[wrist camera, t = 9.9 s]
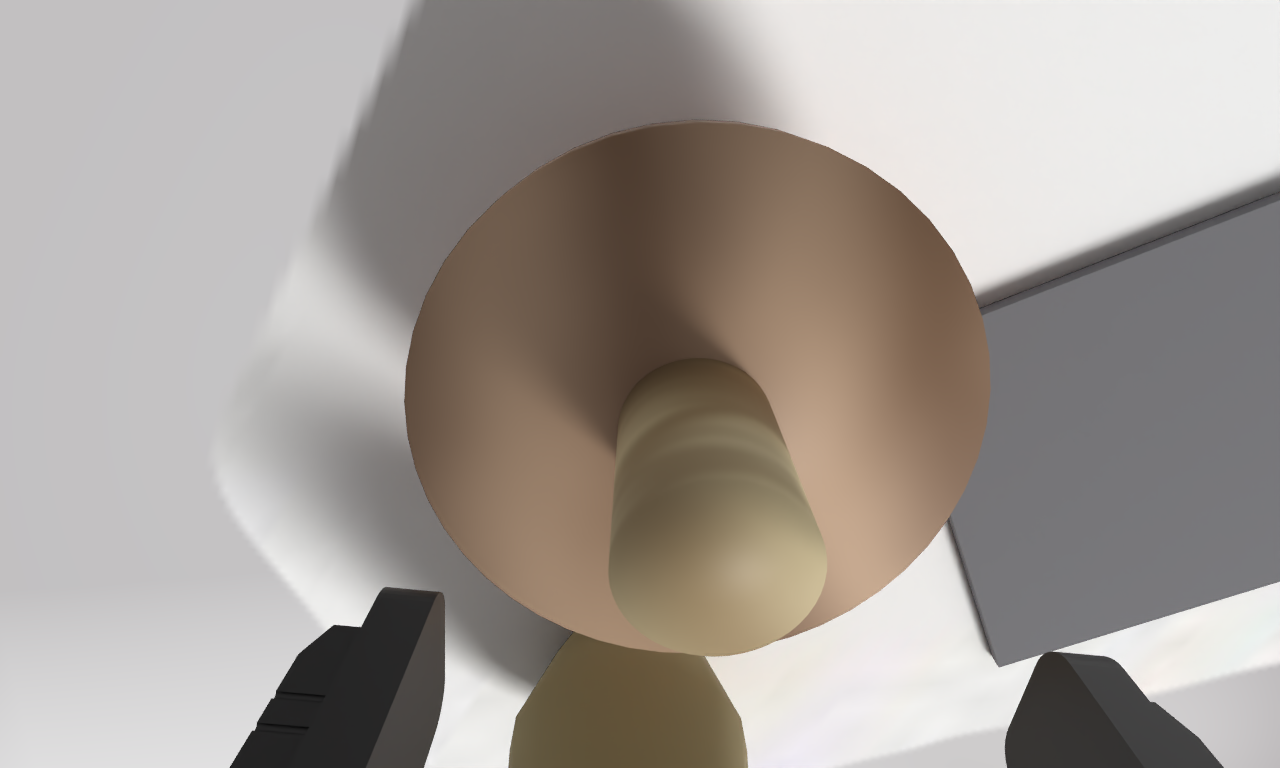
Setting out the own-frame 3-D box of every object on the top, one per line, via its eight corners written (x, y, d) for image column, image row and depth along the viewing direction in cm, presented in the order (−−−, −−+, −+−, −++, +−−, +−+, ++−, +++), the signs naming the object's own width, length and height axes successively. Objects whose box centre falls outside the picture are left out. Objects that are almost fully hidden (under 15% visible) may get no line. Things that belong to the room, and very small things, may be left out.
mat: (1376, 154, 20) (1394, 155, 20) (1388, 535, 25) (1402, 543, 25) (892, 342, 22) (898, 348, 22) (992, 657, 27) (998, 667, 27)
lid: (877, 5, 14) (1044, -47, 8) (1020, 524, 18) (1190, 725, 13) (310, 271, 16) (124, 381, 10) (568, 677, 20) (539, 908, 15)
